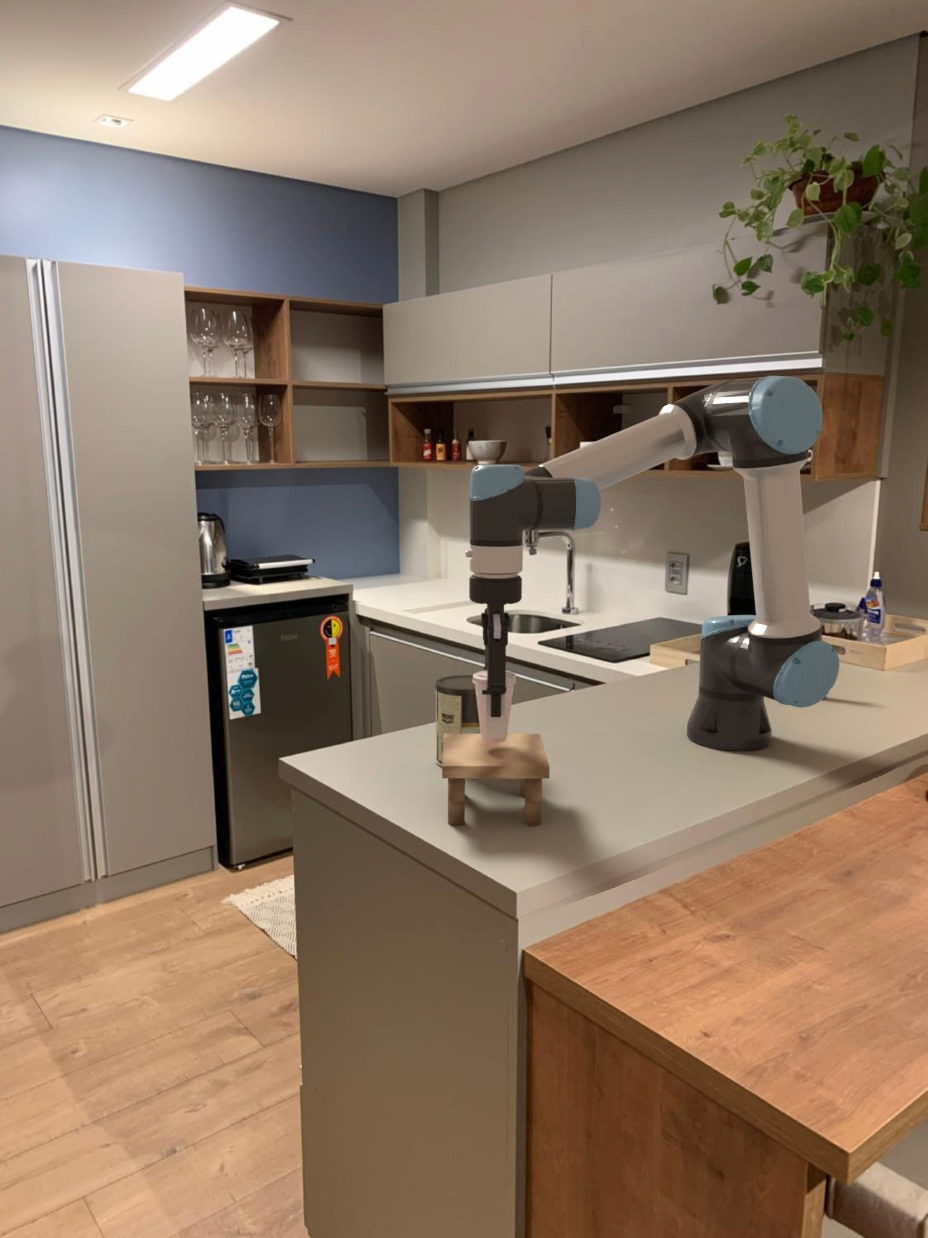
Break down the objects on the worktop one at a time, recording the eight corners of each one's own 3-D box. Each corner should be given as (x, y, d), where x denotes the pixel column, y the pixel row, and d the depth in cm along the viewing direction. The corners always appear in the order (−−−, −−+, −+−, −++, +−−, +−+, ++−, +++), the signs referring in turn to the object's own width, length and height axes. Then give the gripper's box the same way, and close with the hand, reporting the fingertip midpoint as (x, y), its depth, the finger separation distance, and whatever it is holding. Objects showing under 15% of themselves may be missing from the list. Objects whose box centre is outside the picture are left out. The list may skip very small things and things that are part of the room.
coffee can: (499, 754, 164) (500, 676, 162) (489, 773, 154) (490, 691, 152) (442, 750, 166) (442, 673, 164) (428, 769, 156) (428, 687, 154)
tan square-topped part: (538, 790, 147) (540, 733, 146) (548, 828, 132) (549, 766, 131) (443, 789, 147) (443, 733, 145) (442, 828, 132) (442, 766, 131)
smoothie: (470, 732, 141) (470, 641, 138) (512, 731, 141) (513, 641, 139) (474, 746, 134) (474, 651, 132) (518, 745, 135) (519, 650, 132)
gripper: (468, 565, 143) (467, 711, 147) (470, 584, 124) (469, 751, 128) (517, 565, 143) (515, 711, 147) (527, 584, 124) (524, 751, 128)
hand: (494, 729), depth 138 cm, fingers closed on smoothie, 6 cm apart
